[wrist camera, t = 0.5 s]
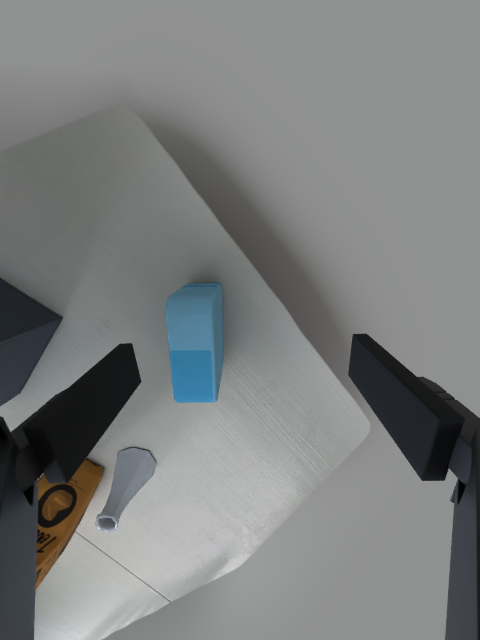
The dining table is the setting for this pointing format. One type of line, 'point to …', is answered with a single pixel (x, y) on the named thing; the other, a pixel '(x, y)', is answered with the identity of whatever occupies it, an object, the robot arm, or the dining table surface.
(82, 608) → the dining table surface
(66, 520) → the coffee package
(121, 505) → the flask
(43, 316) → the dark grey open box
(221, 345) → the data package
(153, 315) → the dining table surface
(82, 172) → the dining table surface
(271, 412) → the dining table surface
